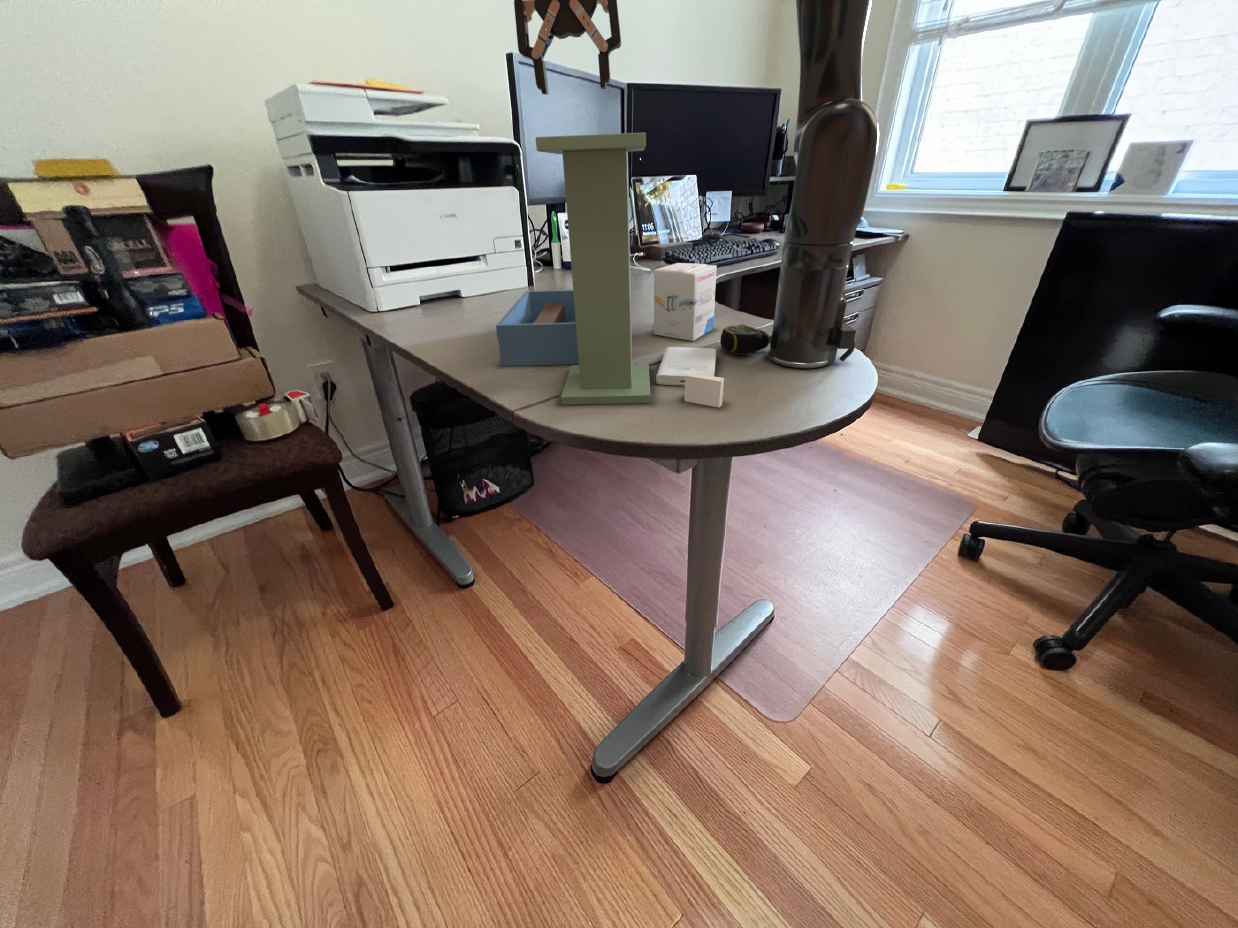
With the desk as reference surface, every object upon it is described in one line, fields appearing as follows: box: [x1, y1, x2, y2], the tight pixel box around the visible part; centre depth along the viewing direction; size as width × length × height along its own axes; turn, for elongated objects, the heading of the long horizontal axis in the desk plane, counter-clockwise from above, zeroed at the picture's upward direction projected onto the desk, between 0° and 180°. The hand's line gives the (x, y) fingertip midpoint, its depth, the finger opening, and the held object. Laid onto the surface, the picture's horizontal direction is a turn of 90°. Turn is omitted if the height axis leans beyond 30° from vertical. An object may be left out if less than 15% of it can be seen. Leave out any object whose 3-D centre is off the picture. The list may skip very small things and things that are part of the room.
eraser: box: [683, 373, 725, 409], centre depth 64 cm, size 1×5×4 cm, turn 60°
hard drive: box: [655, 346, 717, 387], centre depth 75 cm, size 2×8×12 cm
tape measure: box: [719, 324, 770, 356], centre depth 81 cm, size 7×7×4 cm
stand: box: [535, 132, 651, 406], centre depth 63 cm, size 12×16×30 cm
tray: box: [495, 289, 579, 367], centre depth 88 cm, size 14×25×7 cm, turn 178°
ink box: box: [653, 262, 717, 342], centre depth 89 cm, size 9×8×12 cm
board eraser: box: [534, 303, 566, 323], centre depth 89 cm, size 4×20×4 cm, turn 178°
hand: (574, 91), depth 71 cm, fingers open, 8 cm apart
